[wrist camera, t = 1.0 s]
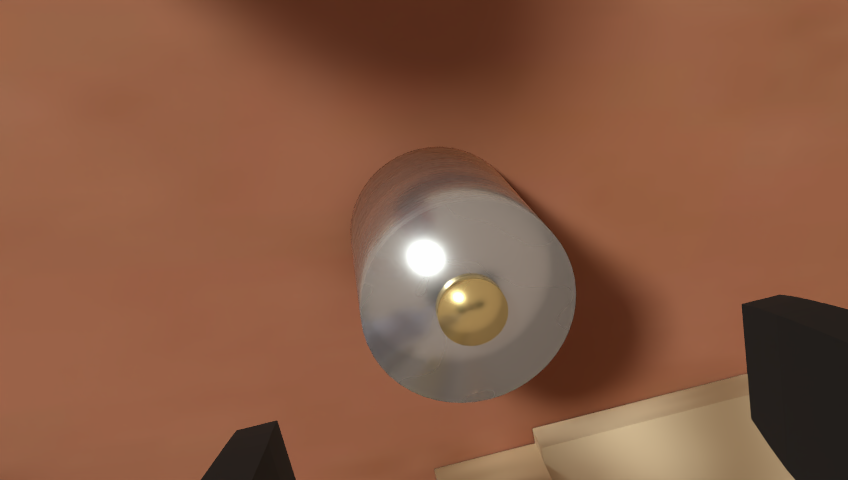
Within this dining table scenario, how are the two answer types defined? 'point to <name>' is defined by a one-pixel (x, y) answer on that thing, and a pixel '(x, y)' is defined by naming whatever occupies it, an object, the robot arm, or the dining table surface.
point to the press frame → (643, 443)
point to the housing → (457, 277)
